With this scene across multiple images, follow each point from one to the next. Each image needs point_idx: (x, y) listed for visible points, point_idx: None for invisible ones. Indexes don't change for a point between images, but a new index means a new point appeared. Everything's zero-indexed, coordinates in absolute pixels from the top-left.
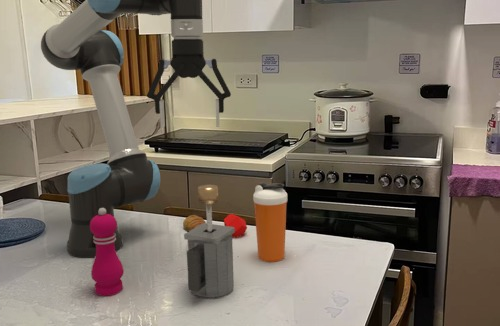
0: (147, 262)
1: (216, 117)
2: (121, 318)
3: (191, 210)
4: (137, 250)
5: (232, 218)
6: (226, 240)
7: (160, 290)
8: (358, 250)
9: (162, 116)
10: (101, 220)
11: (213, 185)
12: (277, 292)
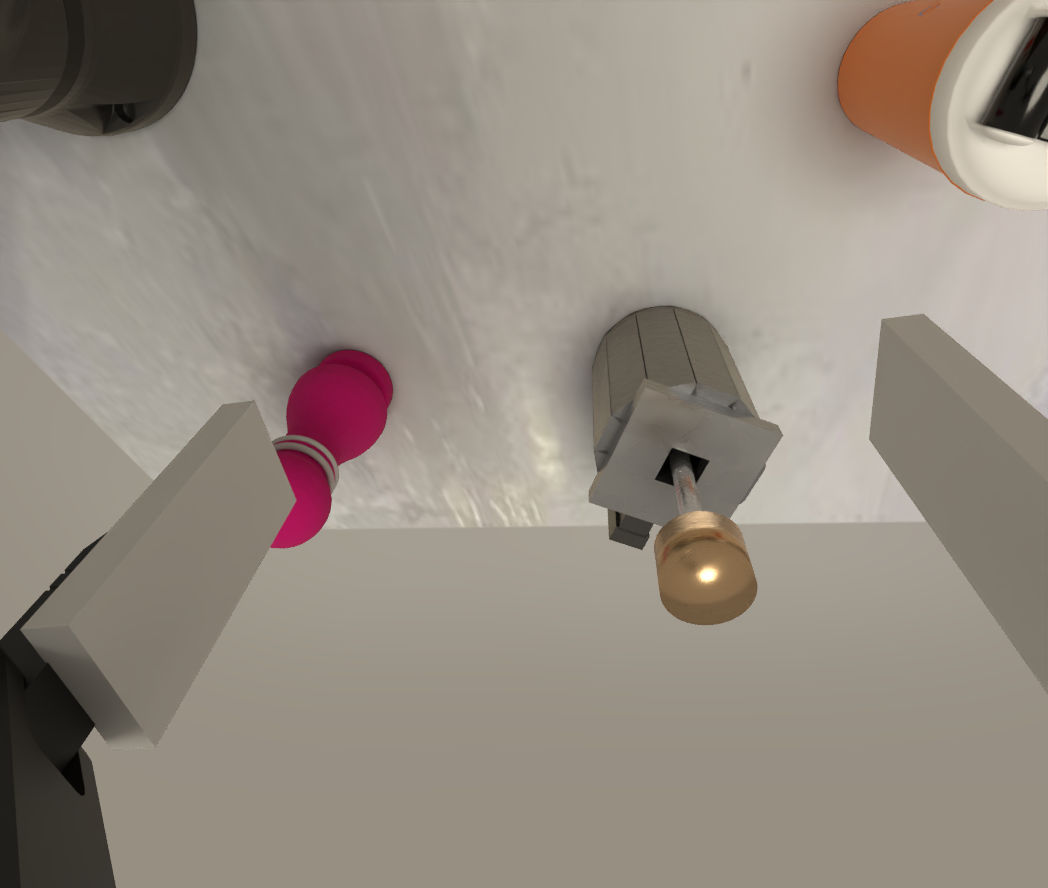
0: (381, 165)
1: (920, 506)
2: (457, 516)
3: None
4: (281, 23)
5: None
6: (743, 500)
7: (505, 382)
8: None
9: (242, 582)
10: (283, 547)
11: (734, 566)
12: (862, 384)
